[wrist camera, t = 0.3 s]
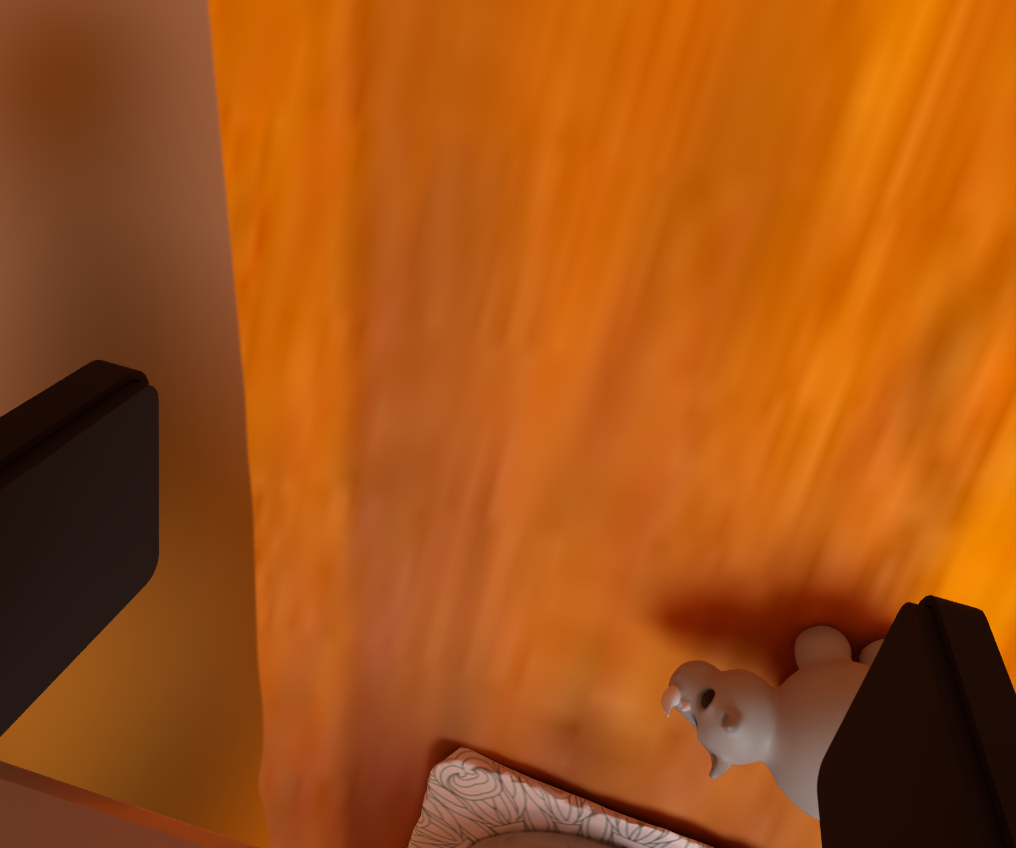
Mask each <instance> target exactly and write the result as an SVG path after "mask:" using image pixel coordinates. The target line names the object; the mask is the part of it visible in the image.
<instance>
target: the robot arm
mask: <svg viewBox="0 0 1016 848" xmlns="http://www.w3.org/2000/svg"><path fill="white" fill-rule="evenodd" d="M148 384H149V383H148V380H147V378H146V375H145V374H143V372H141V371H138V370H135V369H131V368H128V367H124V366H120V365H117V364H113V363H110V362H106V361H103V360H95V361H92V362H90V363H88V364H87V365H85V366H83V367H82V368H80V369H79V370H77V371H75V372H74V373H72V374H70V375H69V376H67V377H65V378H64V379H62V380H61V381H59V382H57V383H56V384H54V385H52V386H51V387H49V388H47V389H46V390H44V391H42V392H41V393H39V394H38V395H36V396H34V397H33V398H31V399H29V400H28V401H26V402H24V403H23V404H21V405H20V406H18V407H16V408H15V409H13V410H11V411H10V412H8V413H7V414H5V415H3V416H2V417H0V737H1V736H2V734H3V733H4V732H5V731H6V730H7V729H8V728H9V727H10V726H11V725H12V724H13V723H14V722H15V721H16V720H17V719H18V718H19V717H20V716H21V715H22V714H23V713H24V712H25V710H26V709H27V708H28V707H29V706H30V705H31V704H32V703H33V702H34V701H35V700H36V699H37V698H38V697H39V696H40V695H41V694H42V693H43V692H44V691H45V690H46V689H47V687H48V686H49V685H50V684H51V683H52V682H53V681H54V680H55V679H56V678H57V677H58V676H59V675H60V674H61V673H62V672H63V671H64V670H65V669H66V668H67V667H68V666H69V665H70V663H71V662H72V661H73V660H74V659H75V658H76V657H77V656H78V655H79V654H80V653H81V652H82V651H83V650H84V649H85V648H86V647H87V646H88V645H89V644H90V643H91V642H92V640H93V639H94V638H95V637H96V636H97V635H98V634H99V633H100V632H101V631H102V630H103V629H104V628H105V627H106V626H107V625H108V624H109V623H110V622H111V621H112V620H113V618H115V616H116V615H117V614H118V613H119V612H120V611H121V610H122V609H123V608H124V607H125V606H126V605H127V604H128V603H129V602H130V601H131V600H132V599H133V598H134V597H135V596H136V594H137V593H138V592H139V591H140V590H141V589H142V588H143V587H144V586H145V585H146V584H147V583H148V581H149V580H150V579H151V577H152V575H153V573H154V571H155V569H156V566H157V562H158V557H159V427H158V426H159V410H158V408H159V405H158V403H159V402H158V401H159V400H158V393H157V391H156V389H155V388H154V387H153V386H149V385H148ZM817 798H818V809H819V819H820V829H821V839H822V848H1016V693H1015V691H1014V688H1013V686H1012V683H1011V680H1010V678H1009V675H1008V673H1007V670H1006V667H1005V665H1004V662H1003V660H1002V657H1001V654H1000V652H999V649H998V647H997V644H996V642H995V639H994V636H993V634H992V631H991V629H990V626H989V623H988V621H987V618H986V616H985V614H984V613H983V611H982V610H980V609H978V608H974V607H971V606H967V605H963V604H960V603H956V602H953V601H949V600H946V599H942V598H939V597H935V596H932V595H929V596H926V597H924V598H923V599H922V600H921V601H920V603H919V604H914V603H911V602H908V603H905V604H904V605H903V606H902V607H901V609H900V611H899V612H898V614H897V616H896V618H895V620H894V622H893V624H892V626H891V628H890V630H889V632H888V633H887V635H886V637H885V639H884V641H883V643H882V645H881V647H880V649H879V651H878V653H877V655H876V657H875V659H874V661H873V663H872V665H871V666H870V668H869V670H868V672H867V674H866V676H865V678H864V680H863V682H862V684H861V686H860V688H859V690H858V692H857V694H856V696H855V697H854V699H853V701H852V703H851V705H850V707H849V709H848V711H847V713H846V715H845V717H844V719H843V721H842V723H841V725H840V727H839V728H838V730H837V732H836V734H835V736H834V738H833V740H832V742H831V744H830V746H829V748H828V750H827V752H826V754H825V756H824V758H823V760H822V762H821V765H820V769H819V773H818V778H817ZM0 848H258V847H255V846H252V845H249V844H246V843H243V842H240V841H238V840H235V839H232V838H229V837H226V836H223V835H219V834H217V833H214V832H211V831H208V830H205V829H202V828H199V827H196V826H193V825H190V824H187V823H185V822H182V821H179V820H176V819H173V818H169V817H167V816H164V815H161V814H158V813H155V812H152V811H149V810H146V809H143V808H140V807H137V806H134V805H131V804H128V803H125V802H122V801H119V800H116V799H113V798H110V797H107V796H104V795H101V794H98V793H95V792H92V791H89V790H86V789H83V788H80V787H77V786H73V785H71V784H68V783H65V782H62V781H58V780H56V779H53V778H50V777H47V776H44V775H41V774H38V773H35V772H32V771H29V770H26V769H23V768H20V767H17V766H14V765H11V764H8V763H5V762H2V761H0Z"/></svg>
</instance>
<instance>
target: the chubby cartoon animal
mask: <svg viewBox="0 0 1016 848" xmlns="http://www.w3.org/2000/svg"><path fill="white" fill-rule="evenodd" d="M883 641H884V639H880V640H877V641H874V642H872V643H870V644H869V645H867V646H866V647H865V648H864V649H863V650H862V651H861V653H860V656H859V663H858V662H853V661H852V652H851V648H850V645H849V642H848V641H847V639H846V638H845V636H844V635H843V634H842V633H841V632H839V631H838V630H836V629H834V628H832V627H829V626H815V627H811V628H808V629H806V630H805V631H803V632H802V633H801V634H800V635H799V636H798V637H797V639H796V642H795V648H794V651H795V659H796V662H797V665H798V668H799V670H798V671H797V672H795V673H793V674H792V675H791V676H790V677H788V678H787V679H786V680H785V681H784V682H783V683H782V684H781V685H780V686H779V687H777V688H773V687H771V686H770V685H769V684H768V683H767V682H766V681H765V680H764V679H762V678H761V677H759V676H758V675H756V674H754V673H751V672H749V671H745V670H738V669H736V670H728V671H720V670H718V669H717V668H716V667H714V666H713V665H711V664H709V663H707V662H704V661H697V660H695V661H689V662H686V663H684V664H682V665H681V666H680V667H679V668H677V670H676V671H675V672H674V673H673V675H672V676H671V678H670V682H669V688H667V689H666V690H665V692H664V693H663V695H662V699H661V703H662V707H663V710H664V712H665V714H666V715H667V717H669V713H670V710H671V708H672V707H673V706H674V707H675V708H676V709H677V710H678V712H680V713H681V714H682V715H683V716H684V717H685V718H686V719H687V720H688V721H690V722H691V723H692V725H693V726H694V727H695V728H696V730H697V731H698V740H699V741H700V743H701V744H702V745H703V746H704V747H705V748H706V750H707V751H708V752H709V754H710V755H711V760H712V768H711V771H710V774H709V776H710V778H711V779H716V778H718V777H719V776H721V775H722V774H724V773H725V771H726V770H727V769H728V768H729V767H730V766H731V765H733V764H740V765H743V764H749V763H753V762H758V761H760V762H763V763H764V764H765V765H766V766H767V767H768V768H769V770H770V772H771V773H772V775H773V777H774V779H775V781H776V783H777V784H778V786H779V787H780V789H781V790H782V791H783V793H784V794H785V795H786V796H787V797H788V798H789V799H790V800H791V801H792V802H793V803H794V804H795V805H796V806H797V807H798V808H800V809H801V810H802V811H804V812H805V813H807V814H808V815H810V816H811V817H813V818H815V819H817V820H819V821H820V819H819V809H818V798H817V778H818V773H819V769H820V765H821V762H822V760H823V758H824V756H825V754H826V752H827V750H828V748H829V746H830V744H831V742H832V740H833V738H834V736H835V734H836V732H837V730H838V728H839V727H840V725H841V723H842V721H843V719H844V717H845V715H846V713H847V711H848V709H849V707H850V705H851V703H852V701H853V699H854V697H855V696H856V694H857V692H858V690H859V688H860V686H861V684H862V682H863V680H864V678H865V676H866V674H867V672H868V670H869V668H870V666H871V665H872V663H873V661H874V659H875V657H876V655H877V653H878V651H879V649H880V647H881V645H882V643H883Z"/></svg>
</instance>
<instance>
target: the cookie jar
mask: <svg viewBox="0 0 1016 848" xmlns="http://www.w3.org/2000/svg"><path fill="white" fill-rule="evenodd" d="M407 848H714V847H711V846H709V845H706V844H704V843H701V842H698V841H696V840H693V839H690V838H687V837H684V836H681V835H678V834H676V833H673V832H671V831H669V830H667V829H664V828H660V827H657V826H653V825H651V824H648V823H645V822H642V821H640V820H637V819H634V818H631V817H628V816H626V815H623V814H620V813H617V812H615V811H612V810H609V809H607V808H605V807H603V806H600V805H598V804H596V803H594V802H592V801H589V800H587V799H584V798H581V797H579V796H576V795H573V794H571V793H568V792H565V791H563V790H560V789H558V788H555V787H553V786H550V785H548V784H545V783H543V782H540V781H537V780H535V779H532V778H530V777H528V776H526V775H524V774H521V773H519V772H517V771H515V770H512V769H510V768H508V767H506V766H503V765H501V764H499V763H497V762H495V761H493V760H491V759H489V758H487V757H485V756H483V755H481V754H479V753H477V752H475V751H473V750H471V749H468V748H462V747H460V748H459V749H458V750H456V751H455V752H454V753H452V754H451V755H450V756H449V757H447V758H446V759H445V760H443V761H441V762H440V763H438V764H437V765H435V766H434V767H433V769H432V770H431V771H430V774H429V779H428V782H427V791H426V793H425V795H424V800H423V805H422V810H421V817H420V818H419V820H418V822H417V824H416V826H415V828H414V829H413V832H412V836H411V840H410V842H409V845H408V847H407Z"/></svg>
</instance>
